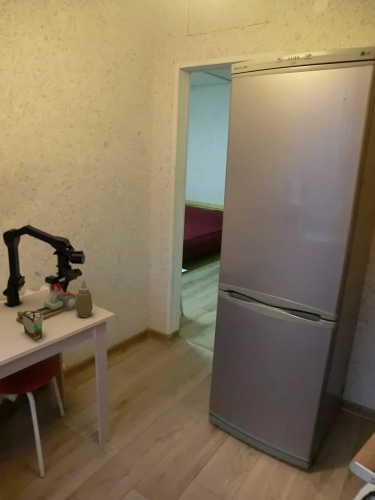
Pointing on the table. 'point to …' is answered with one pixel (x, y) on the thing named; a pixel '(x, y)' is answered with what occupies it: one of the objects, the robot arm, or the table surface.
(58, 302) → the carriage
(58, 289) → the soda can
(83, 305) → the squeeze bottle
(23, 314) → the food container
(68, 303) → the cabinet
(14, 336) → the table surface
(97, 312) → the table surface
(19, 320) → the slide rail
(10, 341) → the table surface
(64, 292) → the brown rounded piece
